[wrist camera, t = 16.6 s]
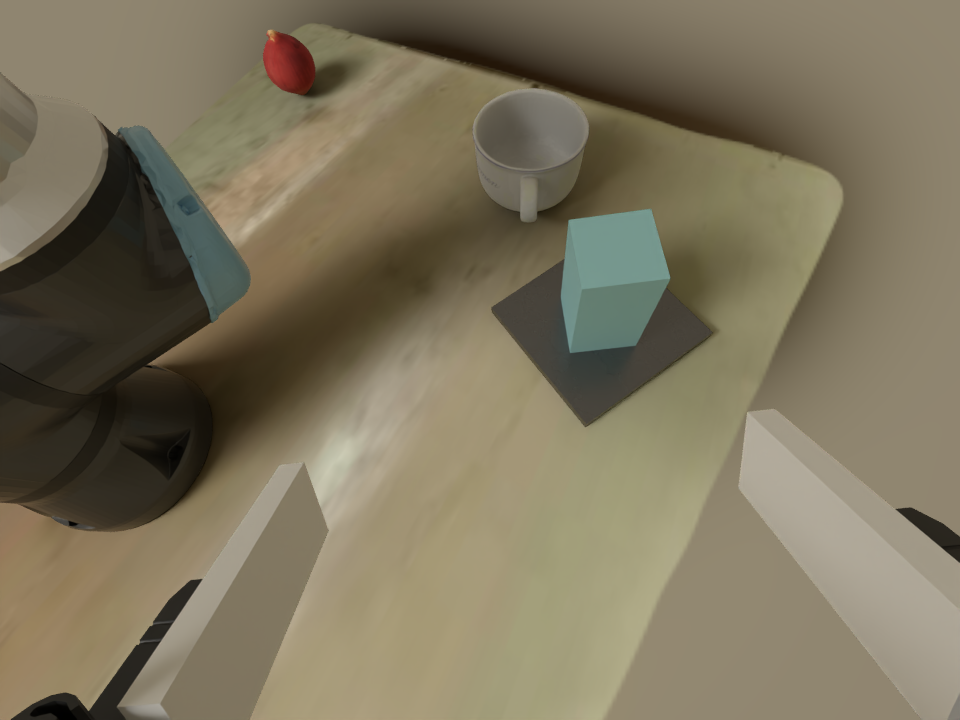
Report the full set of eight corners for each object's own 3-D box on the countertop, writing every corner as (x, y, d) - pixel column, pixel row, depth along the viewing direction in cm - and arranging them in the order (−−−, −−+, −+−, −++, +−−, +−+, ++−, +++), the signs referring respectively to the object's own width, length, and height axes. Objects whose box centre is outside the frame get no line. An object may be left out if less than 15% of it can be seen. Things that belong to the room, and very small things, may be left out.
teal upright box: (570, 353, 40) (581, 289, 30) (560, 296, 42) (568, 219, 32) (635, 345, 40) (670, 278, 29) (623, 289, 42) (651, 208, 32)
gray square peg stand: (492, 312, 44) (482, 259, 35) (605, 237, 45) (620, 169, 37) (585, 427, 38) (599, 395, 30) (708, 337, 40) (753, 284, 32)
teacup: (494, 146, 52) (487, 80, 44) (588, 155, 50) (598, 87, 42) (463, 245, 47) (450, 190, 40) (567, 259, 45) (573, 204, 38)
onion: (299, 73, 61) (266, 9, 53) (333, 82, 59) (305, 17, 52) (274, 103, 59) (237, 40, 51) (309, 113, 57) (276, 50, 50)
